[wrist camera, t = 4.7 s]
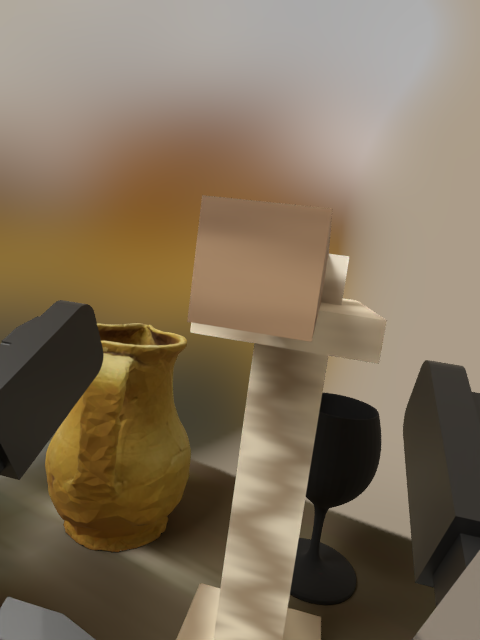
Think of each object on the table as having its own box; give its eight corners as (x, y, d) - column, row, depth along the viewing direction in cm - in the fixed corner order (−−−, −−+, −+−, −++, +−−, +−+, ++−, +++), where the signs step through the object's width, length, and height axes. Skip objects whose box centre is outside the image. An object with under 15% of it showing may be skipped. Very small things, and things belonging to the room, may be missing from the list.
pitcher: (212, 511, 57) (226, 330, 53) (108, 605, 41) (117, 355, 37) (120, 471, 65) (126, 312, 61) (2, 536, 49) (0, 326, 45)
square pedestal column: (106, 830, 25) (166, 287, 21) (197, 601, 42) (239, 283, 38) (311, 914, 22) (421, 325, 19) (317, 636, 40) (375, 303, 36)
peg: (367, 351, 9) (390, 214, 9) (139, 313, 10) (152, 190, 10) (339, 301, 31) (345, 260, 30) (265, 290, 32) (270, 250, 32)
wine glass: (326, 537, 56) (351, 391, 53) (375, 598, 46) (408, 423, 43) (253, 544, 52) (276, 388, 50) (289, 612, 42) (320, 422, 40)
